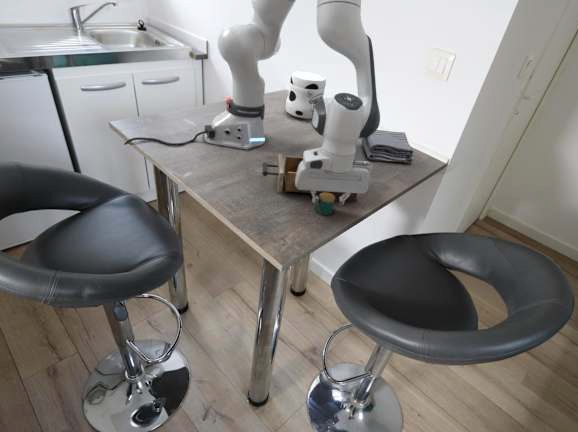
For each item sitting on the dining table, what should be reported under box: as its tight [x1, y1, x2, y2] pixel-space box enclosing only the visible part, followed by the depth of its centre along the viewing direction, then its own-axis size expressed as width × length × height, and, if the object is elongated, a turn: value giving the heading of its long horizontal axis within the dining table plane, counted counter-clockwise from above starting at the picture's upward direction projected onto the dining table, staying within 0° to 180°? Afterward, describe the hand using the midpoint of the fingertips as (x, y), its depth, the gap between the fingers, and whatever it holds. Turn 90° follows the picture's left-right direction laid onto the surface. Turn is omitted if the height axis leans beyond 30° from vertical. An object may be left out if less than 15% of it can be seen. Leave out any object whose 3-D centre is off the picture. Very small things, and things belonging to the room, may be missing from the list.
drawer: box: [262, 153, 311, 194], centre depth 108 cm, size 17×12×7 cm
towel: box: [361, 129, 414, 164], centre depth 137 cm, size 15×18×8 cm
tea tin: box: [316, 192, 336, 216], centre depth 100 cm, size 4×4×5 cm
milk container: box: [285, 70, 327, 121], centre depth 158 cm, size 17×17×18 cm
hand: (327, 202), depth 100 cm, fingers open, 6 cm apart
